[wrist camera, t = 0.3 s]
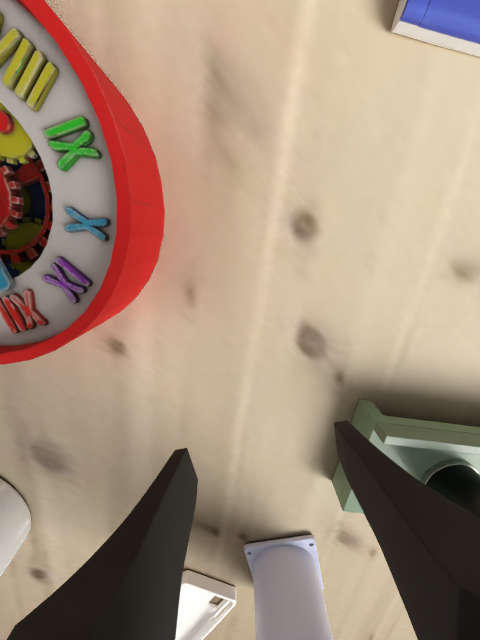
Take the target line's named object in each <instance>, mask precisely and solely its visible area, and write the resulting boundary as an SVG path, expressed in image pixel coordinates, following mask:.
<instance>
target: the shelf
mask: <svg viewBox="0 0 480 640" xmlns="http://www.w3.org/2000/svg"><path fill="white" fill-rule="evenodd" d="M351 424H352V425H353V426H354V427H355V428H356V429H357V430H358V431H359V432H360V433H361V434H362V435H363V436H365V437H366V438H367V439H368V440H369V441H370V442H371V443H372V444H373V445H375V446H376V447H377V448H378V449H379V450H381V451H382V452H383V453H384V454H385V455H386V456H388V457H389V458H390V459H391V460H393V461H394V462H395V463H396V464H398V465H399V466H400V467H402V468H403V469H404V470H406V471H407V472H408V473H410V474H411V475H412V476H414V477H415V478H416V479H418V480H419V481H421V480H422V478H423V476H424V474H425V473H426V471H427V470H428V469H430V468H431V467H432V466H434V465H435V464H437V463H440V462H442V461H446V460H452V459H457V460H463V461H466V462H468V463H469V464H471V465H472V466H473V467H474V468H475V469H476V470H477V471H478V473H479V475H480V427H474V426H466V425H458V424H449V423H441V422H433V421H425V420H417V419H408V418H400V417H392V416H384V415H383V414H382V413H381V412H380V411H379V409H378V408H377V407H376V406H375V405H374V403H373V402H372V401H368V400H360V399H359V401H358V404H357V407H356V410H355V413H354V416H353V419H352V422H351ZM332 483H333V486H334V488H335V491H336V494H337V496H338V499H339V502H340V504H341V507H342V510H343V511H346V512H355V513H364V512H363V510H362V508H361V506H360V504H359V502H358V500H357V498H356V496H355V494H354V493H353V491H352V489H351V487H350V484H349V482H348V480H347V478H346V476H345V473H344V471H343V468H342V465H341V463H340V460H339V462H338V465H337V468H336V471H335V474H334V477H333V480H332Z"/></svg>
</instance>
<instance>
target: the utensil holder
mask: <svg viewBox="0 0 480 640" xmlns="http://www.w3.org/2000/svg"><path fill="white" fill-rule="evenodd" d="M30 528H31V515H30V512H29V508H28V506H27V504H26V503H25V501H24V500H23V498H22V497H21V496H20V494H19V493H18V492H17V491H16V490H15V489H14V488H13V487H11V486H10V485H9V484H8V483H6V482H5V481H3V480H2V479H1V478H0V577H1V575H2V573H3V572H4V570H5V569H6V567H7V566H8V564H9V563H10V561H11V560H12V558H13V557H14V555H15V554H16V552H17V551H18V549H19V548H20V546H21V545H22V543H23V541H24V540H25V538H26V537H27V535H28V533H29V531H30Z"/></svg>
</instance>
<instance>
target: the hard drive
mask: <svg viewBox="0 0 480 640" xmlns="http://www.w3.org/2000/svg"><path fill="white" fill-rule="evenodd" d="M391 32H393V33H397V34H400V35H404V36H407V37H410V38H413V39H416V40H420V41H423V42H427V43H430V44H434V45H438V46H441V47H445V48H448V49H452V50H456V51H459V52H463V53H466V54H470V55H474V56H477V57H480V0H400V1H399V4H398V7H397V11H396V14H395V17H394V21H393V24H392V29H391Z"/></svg>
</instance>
